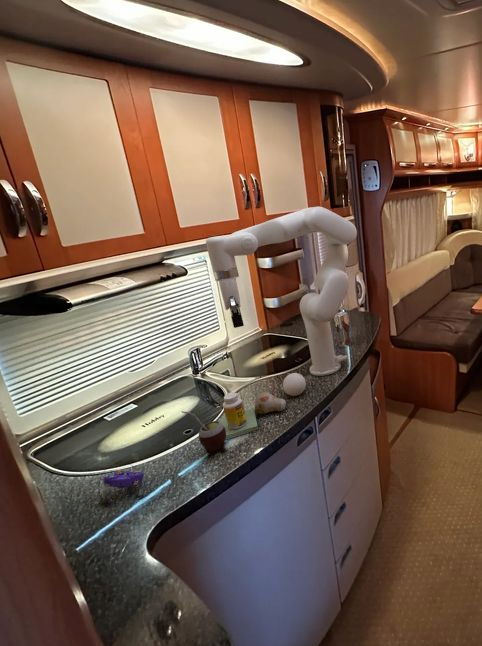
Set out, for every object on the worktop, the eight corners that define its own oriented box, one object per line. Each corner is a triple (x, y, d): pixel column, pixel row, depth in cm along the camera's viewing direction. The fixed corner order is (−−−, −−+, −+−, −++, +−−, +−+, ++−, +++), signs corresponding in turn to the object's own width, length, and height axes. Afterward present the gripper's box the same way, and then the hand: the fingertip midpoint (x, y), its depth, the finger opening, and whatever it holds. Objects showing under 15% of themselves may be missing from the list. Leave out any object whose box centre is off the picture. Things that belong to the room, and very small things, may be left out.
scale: (254, 410, 126) (252, 402, 125) (258, 429, 115) (256, 421, 114) (220, 420, 122) (218, 412, 122) (220, 441, 111) (218, 433, 110)
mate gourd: (234, 443, 109) (222, 398, 105) (215, 462, 102) (201, 414, 98) (215, 440, 112) (202, 396, 108) (194, 458, 105) (180, 411, 101)
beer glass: (338, 348, 170) (333, 317, 165) (336, 343, 176) (331, 313, 172) (353, 345, 171) (348, 314, 166) (351, 340, 177) (346, 310, 173)
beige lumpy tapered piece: (287, 415, 121) (265, 396, 117) (265, 426, 124) (244, 408, 120) (292, 398, 127) (272, 380, 123) (271, 409, 130) (251, 391, 126)
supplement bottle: (242, 429, 113) (234, 400, 110) (225, 430, 114) (217, 401, 111) (250, 419, 118) (242, 390, 115) (233, 419, 119) (226, 391, 116)
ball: (281, 400, 130) (276, 379, 128) (290, 388, 138) (286, 369, 135) (302, 400, 129) (298, 379, 126) (310, 388, 136) (306, 368, 134)
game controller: (150, 457, 101) (143, 472, 92) (147, 487, 101) (140, 506, 92) (106, 460, 98) (94, 476, 88) (103, 491, 98) (91, 511, 88)
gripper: (214, 272, 129) (226, 319, 134) (214, 280, 114) (227, 332, 119) (236, 268, 132) (247, 314, 137) (239, 275, 116) (251, 327, 121)
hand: (238, 323), depth 128 cm, fingers open, 9 cm apart
